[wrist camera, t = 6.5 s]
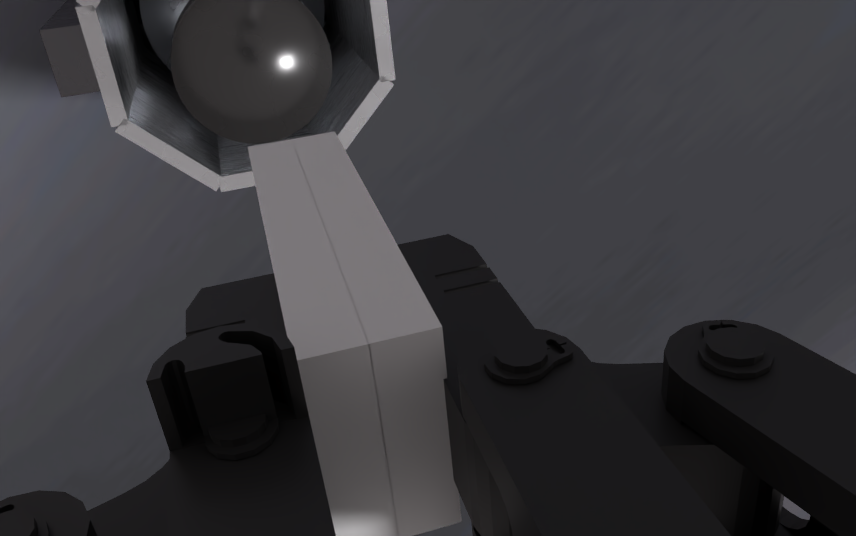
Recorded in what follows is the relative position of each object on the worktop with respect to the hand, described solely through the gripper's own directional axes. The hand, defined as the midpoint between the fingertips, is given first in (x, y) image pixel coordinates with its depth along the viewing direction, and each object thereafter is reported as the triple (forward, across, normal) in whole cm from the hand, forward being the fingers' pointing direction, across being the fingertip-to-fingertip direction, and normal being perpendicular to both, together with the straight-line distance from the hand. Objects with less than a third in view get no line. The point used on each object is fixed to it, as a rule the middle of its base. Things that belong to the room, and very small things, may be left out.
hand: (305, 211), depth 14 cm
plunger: (+25, 0, 0) cm, 25 cm away
